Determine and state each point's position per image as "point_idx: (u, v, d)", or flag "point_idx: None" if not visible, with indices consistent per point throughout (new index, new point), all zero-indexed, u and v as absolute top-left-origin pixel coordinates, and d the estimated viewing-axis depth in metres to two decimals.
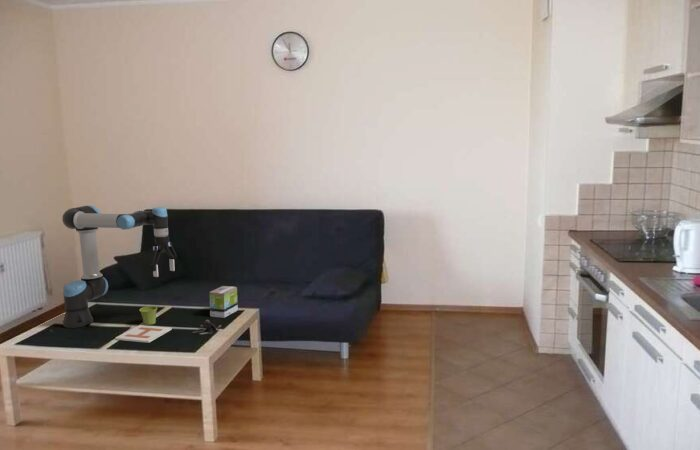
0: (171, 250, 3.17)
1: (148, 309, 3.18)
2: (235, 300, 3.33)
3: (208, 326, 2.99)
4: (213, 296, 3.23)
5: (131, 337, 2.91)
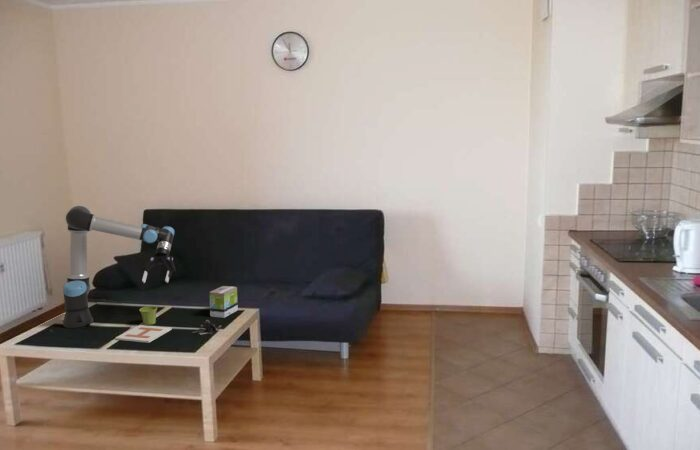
0: (171, 264, 3.29)
1: (148, 309, 3.18)
2: (235, 300, 3.33)
3: (208, 326, 2.99)
4: (213, 296, 3.23)
5: (131, 337, 2.91)
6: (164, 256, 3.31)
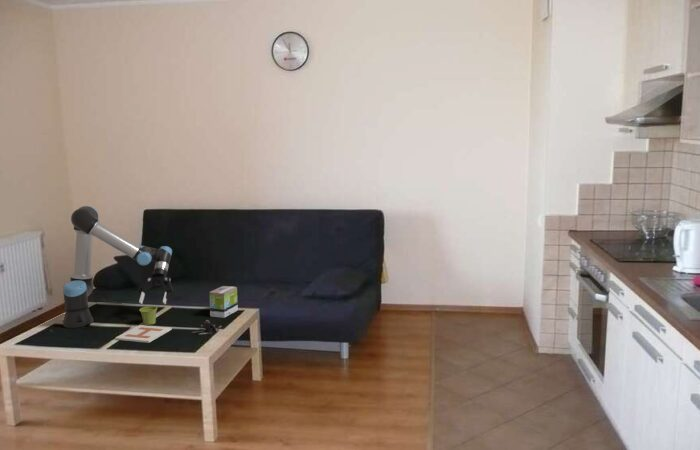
0: (168, 284, 3.25)
1: (148, 309, 3.18)
2: (235, 300, 3.33)
3: (208, 326, 2.99)
4: (213, 296, 3.23)
5: (131, 337, 2.91)
6: (161, 277, 3.28)
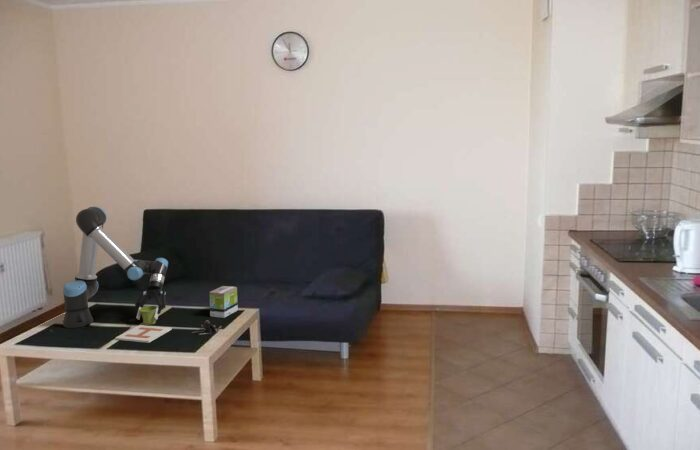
0: None
1: (148, 309, 3.18)
2: (235, 300, 3.33)
3: (207, 327, 2.98)
4: (213, 296, 3.23)
5: (131, 337, 2.91)
6: (157, 289, 3.21)
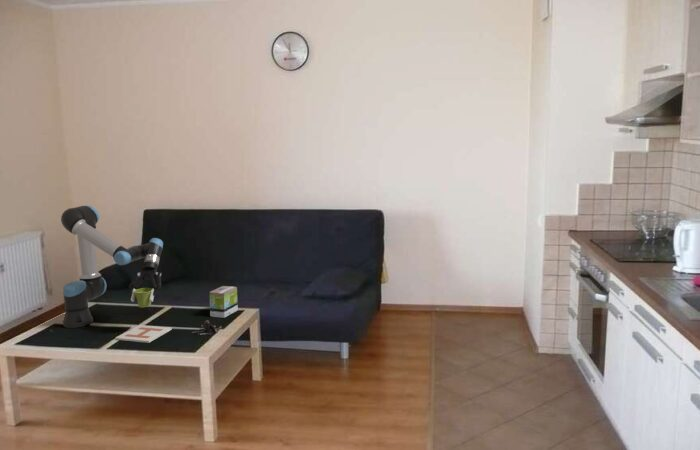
0: None
1: (143, 291, 3.03)
2: (235, 300, 3.33)
3: (207, 327, 2.98)
4: (213, 296, 3.23)
5: (131, 337, 2.91)
6: (152, 270, 3.06)
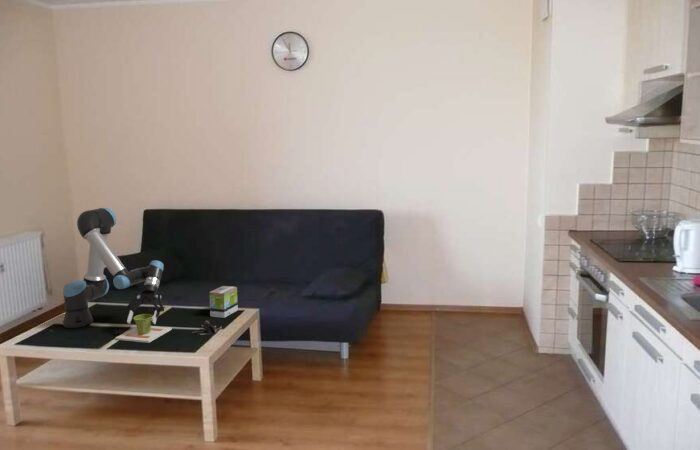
0: (159, 302, 3.01)
1: (143, 317, 3.01)
2: (235, 300, 3.33)
3: (207, 327, 2.98)
4: (213, 296, 3.23)
5: (131, 337, 2.91)
6: (152, 294, 3.03)
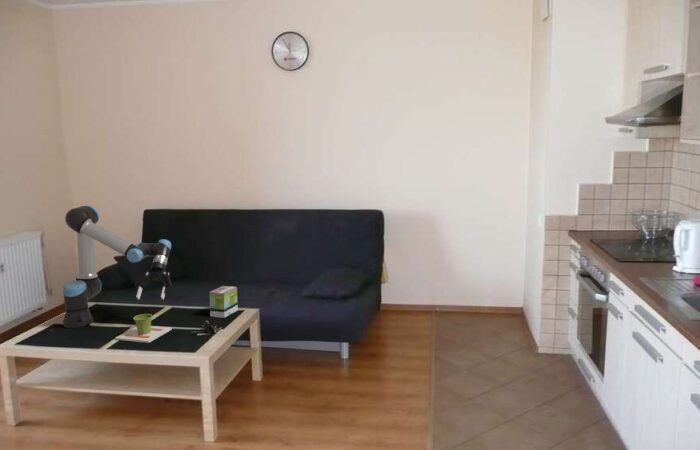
0: (167, 279, 3.12)
1: (143, 317, 3.01)
2: (235, 300, 3.33)
3: (206, 327, 2.97)
4: (213, 296, 3.23)
5: (131, 337, 2.91)
6: (160, 271, 3.15)
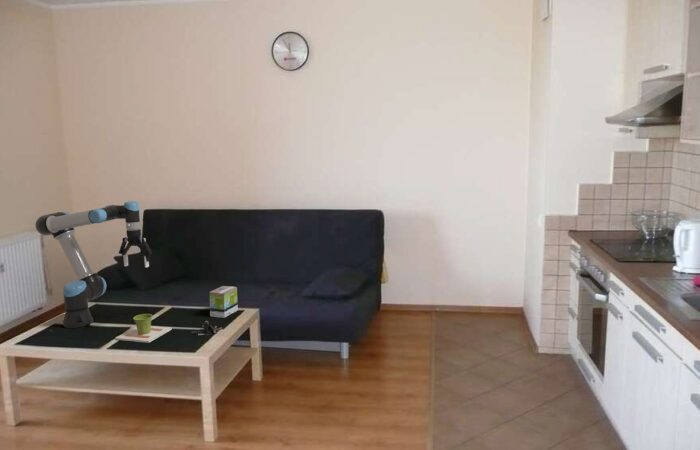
0: None
1: (143, 317, 3.01)
2: (235, 300, 3.33)
3: (206, 327, 2.97)
4: (213, 296, 3.23)
5: (131, 337, 2.91)
6: (136, 238, 3.15)
